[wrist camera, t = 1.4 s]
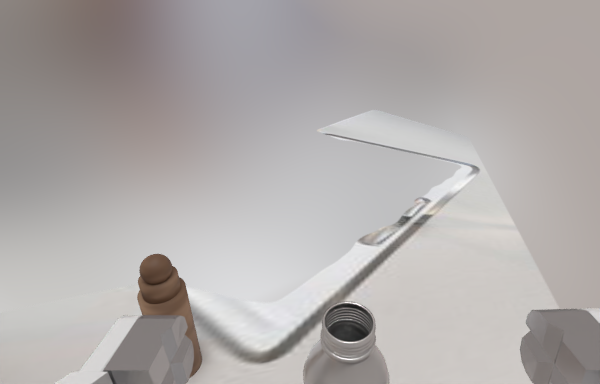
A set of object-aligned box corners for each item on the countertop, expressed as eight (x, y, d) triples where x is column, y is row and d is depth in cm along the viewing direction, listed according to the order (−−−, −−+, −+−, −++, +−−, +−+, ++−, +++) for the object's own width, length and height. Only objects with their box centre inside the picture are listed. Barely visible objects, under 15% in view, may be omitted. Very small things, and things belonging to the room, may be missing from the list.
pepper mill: (152, 380, 41) (116, 271, 34) (171, 345, 46) (142, 242, 38) (192, 384, 41) (164, 274, 33) (207, 348, 45) (185, 244, 38)
